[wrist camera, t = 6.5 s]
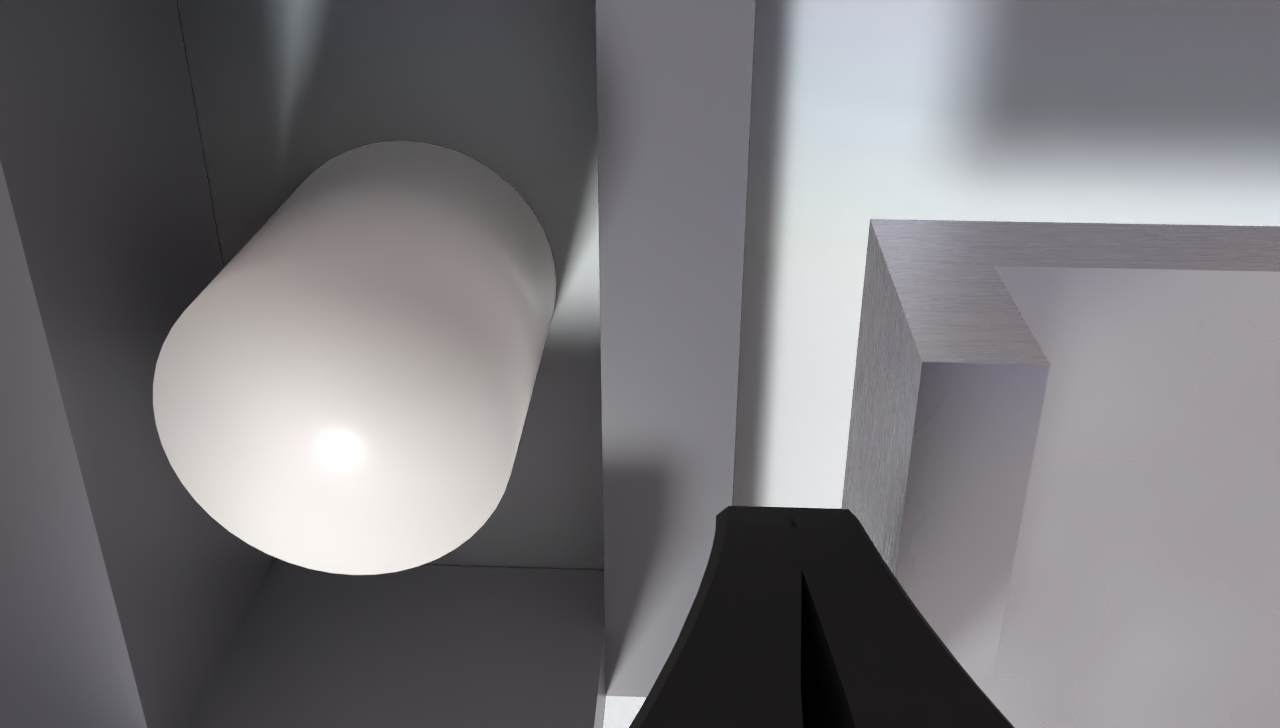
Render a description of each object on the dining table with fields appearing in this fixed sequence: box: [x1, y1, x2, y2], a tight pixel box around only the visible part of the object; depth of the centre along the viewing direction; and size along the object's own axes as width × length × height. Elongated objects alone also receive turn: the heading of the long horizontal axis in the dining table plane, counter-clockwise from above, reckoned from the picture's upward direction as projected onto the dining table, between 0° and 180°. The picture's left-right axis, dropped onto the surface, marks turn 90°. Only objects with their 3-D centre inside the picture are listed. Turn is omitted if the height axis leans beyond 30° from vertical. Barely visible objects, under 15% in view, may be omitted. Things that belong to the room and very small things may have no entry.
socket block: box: [0, 0, 756, 728], centre depth 16 cm, size 14×13×5 cm
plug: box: [153, 141, 556, 575], centre depth 16 cm, size 4×4×5 cm
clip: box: [842, 219, 1280, 728], centre depth 12 cm, size 6×8×3 cm
